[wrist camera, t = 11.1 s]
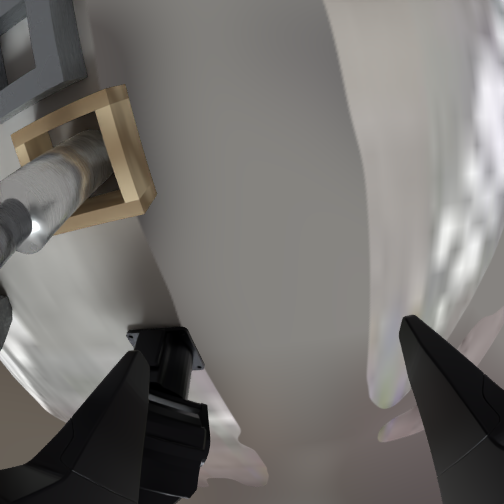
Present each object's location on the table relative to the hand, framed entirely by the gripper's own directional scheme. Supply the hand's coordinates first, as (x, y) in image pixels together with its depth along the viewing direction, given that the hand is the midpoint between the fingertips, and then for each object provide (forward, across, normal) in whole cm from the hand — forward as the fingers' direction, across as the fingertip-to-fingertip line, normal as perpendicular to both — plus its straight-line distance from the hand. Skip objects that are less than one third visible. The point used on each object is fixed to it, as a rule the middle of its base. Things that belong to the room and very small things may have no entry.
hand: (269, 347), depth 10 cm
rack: (+13, +11, -5) cm, 18 cm away
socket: (+13, +14, -15) cm, 24 cm away
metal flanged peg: (+13, +11, -5) cm, 18 cm away
